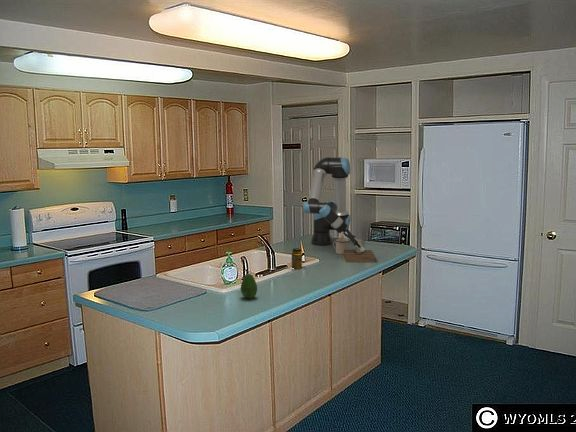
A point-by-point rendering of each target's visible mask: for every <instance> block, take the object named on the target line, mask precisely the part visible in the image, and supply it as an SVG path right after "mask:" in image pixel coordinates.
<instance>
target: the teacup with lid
mask: <svg viewBox="0 0 576 432" xmlns="http://www.w3.org/2000/svg"><path fill="white" fill-rule="evenodd" d="M349 246H350V239H349V238H347V237H345V235H341V236H340V237H339V238H336V239H335V241H332V247H333V248H334V249H335V254H336V255H344V250H350V249H349V248H350V247H349Z"/></svg>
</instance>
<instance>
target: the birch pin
mask: <svg viewBox="0 0 576 432" xmlns="http://www.w3.org/2000/svg"><path fill="white" fill-rule="evenodd" d="M356 241H358V242H359V243H360V244H361V245H362V246H363V239H360V238H356ZM355 247H356V246H355ZM355 250H356V253H362V252H361V251H360V250H359V249H358V248H357V247H356V248H355Z"/></svg>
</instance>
